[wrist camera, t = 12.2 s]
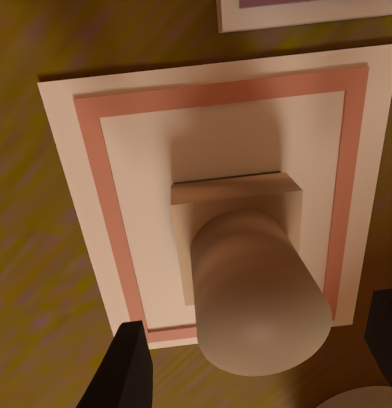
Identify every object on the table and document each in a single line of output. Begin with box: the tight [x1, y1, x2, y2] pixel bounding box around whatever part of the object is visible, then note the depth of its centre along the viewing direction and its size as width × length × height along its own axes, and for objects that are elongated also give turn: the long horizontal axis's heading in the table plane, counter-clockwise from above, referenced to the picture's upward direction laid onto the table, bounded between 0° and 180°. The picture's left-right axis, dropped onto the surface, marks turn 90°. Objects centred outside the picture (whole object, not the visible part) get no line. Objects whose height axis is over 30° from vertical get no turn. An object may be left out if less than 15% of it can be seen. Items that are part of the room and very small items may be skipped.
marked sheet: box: [37, 44, 392, 349], centre depth 15 cm, size 14×15×1 cm
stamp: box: [171, 171, 332, 376], centre depth 12 cm, size 5×5×6 cm
